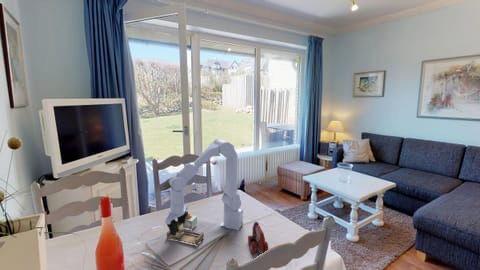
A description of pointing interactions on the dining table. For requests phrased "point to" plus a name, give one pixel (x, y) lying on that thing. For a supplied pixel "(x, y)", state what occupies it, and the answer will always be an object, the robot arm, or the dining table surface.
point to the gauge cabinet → (190, 222)
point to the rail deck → (188, 237)
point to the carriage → (179, 230)
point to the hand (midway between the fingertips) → (177, 231)
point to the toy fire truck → (257, 239)
